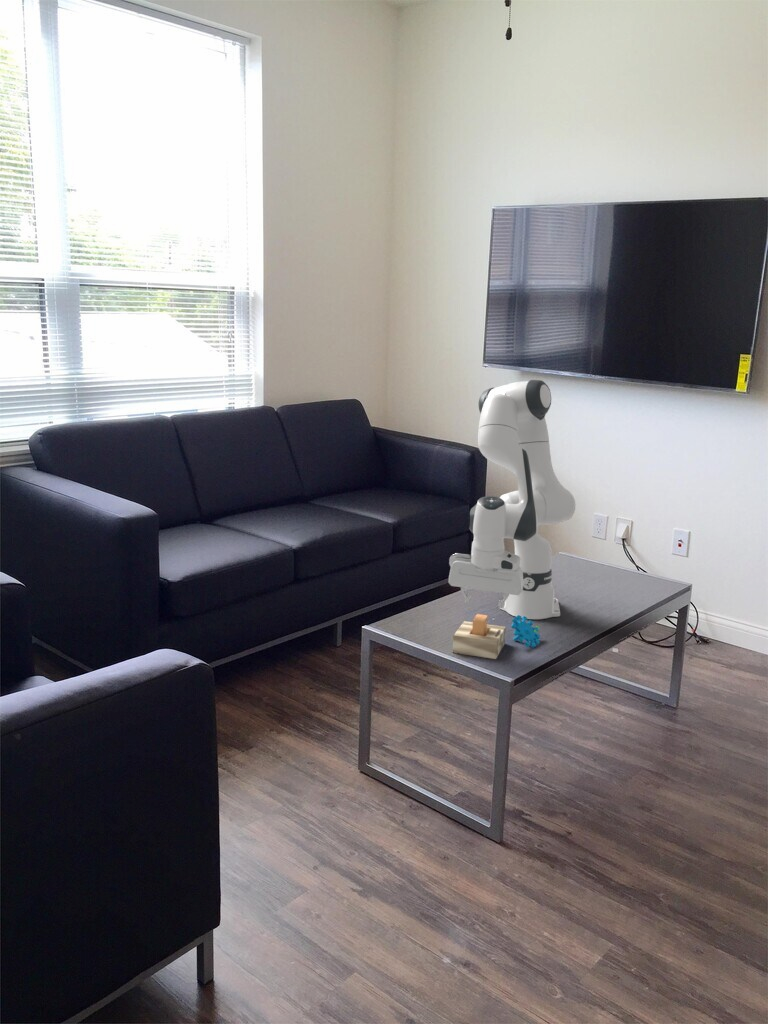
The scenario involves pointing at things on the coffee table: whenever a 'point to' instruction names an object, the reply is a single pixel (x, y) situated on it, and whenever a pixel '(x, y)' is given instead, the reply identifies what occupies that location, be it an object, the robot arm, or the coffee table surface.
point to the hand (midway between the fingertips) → (484, 604)
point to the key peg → (480, 625)
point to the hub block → (479, 641)
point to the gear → (525, 631)
